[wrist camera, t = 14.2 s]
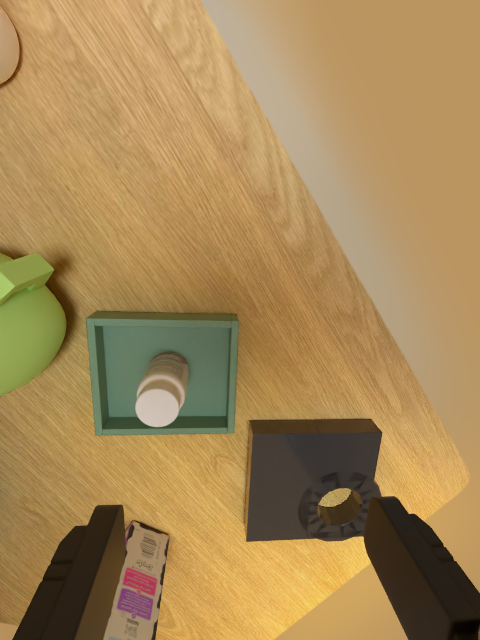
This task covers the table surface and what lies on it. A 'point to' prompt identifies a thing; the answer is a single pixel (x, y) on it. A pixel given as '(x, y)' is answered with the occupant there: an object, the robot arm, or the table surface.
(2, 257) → the teapot
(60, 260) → the table surface
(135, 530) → the candy box
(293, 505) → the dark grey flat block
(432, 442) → the table surface
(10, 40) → the water bottle
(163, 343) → the tray
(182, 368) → the pill bottle
